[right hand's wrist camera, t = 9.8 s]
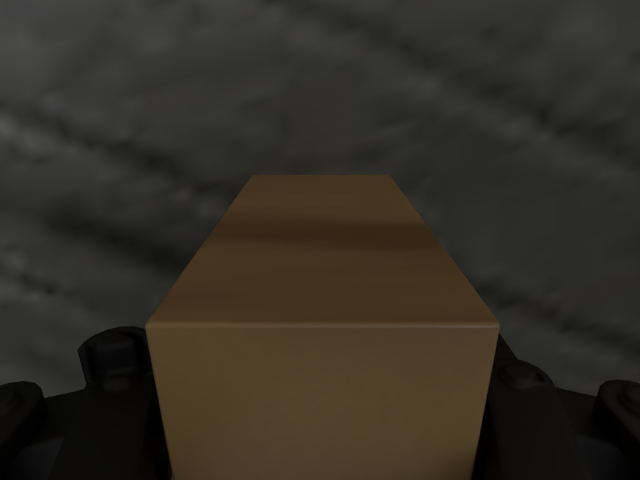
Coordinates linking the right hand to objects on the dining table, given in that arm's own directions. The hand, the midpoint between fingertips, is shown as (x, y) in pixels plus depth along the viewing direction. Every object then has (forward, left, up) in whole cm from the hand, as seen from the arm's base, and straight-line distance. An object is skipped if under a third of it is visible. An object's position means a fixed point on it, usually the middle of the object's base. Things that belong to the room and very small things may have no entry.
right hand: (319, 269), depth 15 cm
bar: (+9, -1, -1) cm, 9 cm away
